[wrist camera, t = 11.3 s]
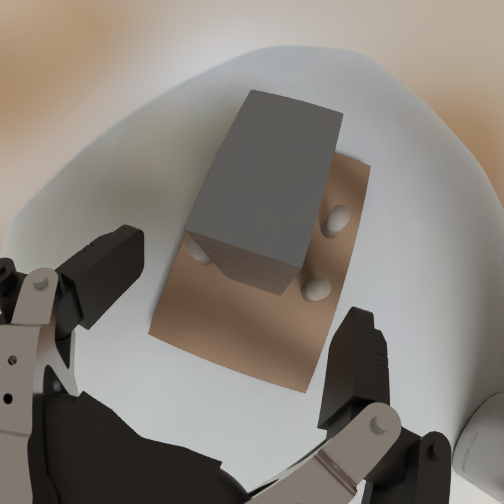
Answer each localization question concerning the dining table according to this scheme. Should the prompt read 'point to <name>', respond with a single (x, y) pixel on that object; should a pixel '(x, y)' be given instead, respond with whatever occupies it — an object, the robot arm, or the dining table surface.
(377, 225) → the dining table surface
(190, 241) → the wooden peg stand
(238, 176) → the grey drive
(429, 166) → the dining table surface
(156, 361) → the dining table surface
